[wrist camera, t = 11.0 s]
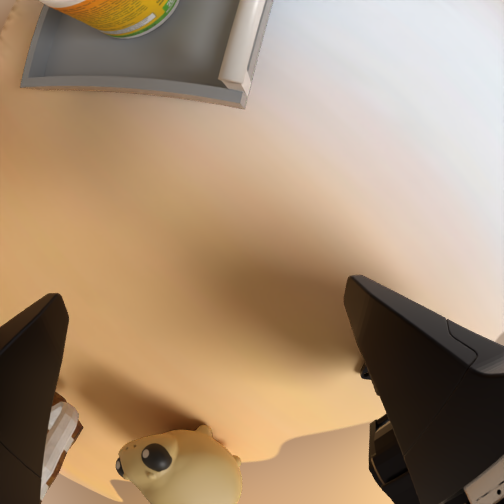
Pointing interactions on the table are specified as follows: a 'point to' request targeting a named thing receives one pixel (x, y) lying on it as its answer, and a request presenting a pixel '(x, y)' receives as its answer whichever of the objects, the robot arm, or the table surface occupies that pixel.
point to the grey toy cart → (155, 53)
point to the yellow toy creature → (182, 468)
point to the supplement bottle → (117, 14)
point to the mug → (58, 439)
